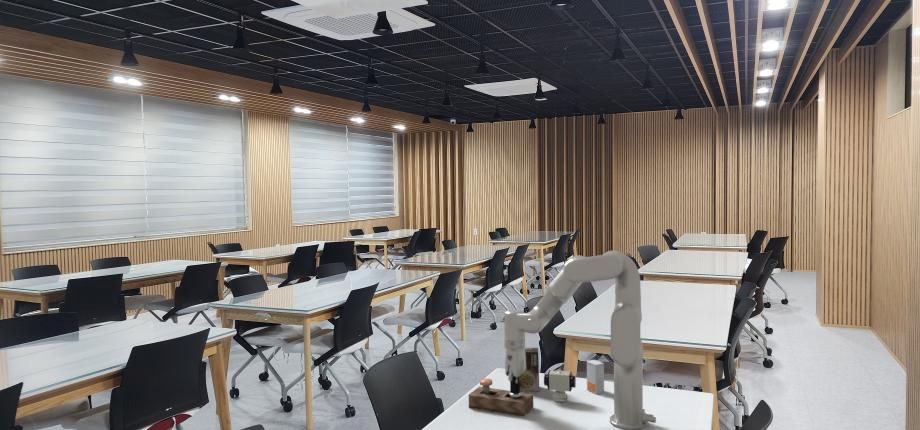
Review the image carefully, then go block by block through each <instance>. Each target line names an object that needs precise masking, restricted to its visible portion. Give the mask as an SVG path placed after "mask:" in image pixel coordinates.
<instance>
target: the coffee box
mask: <svg viewBox="0 0 920 430" xmlns="http://www.w3.org/2000/svg"><path fill="white" fill-rule="evenodd" d="M525 356H526V371H525V372H524V373H523V374H521V375H520V391H521V392H524V391H525V392H531V391H532V392H536V391H537V392H538V391H539V392H540V368H539V367H540V365H539V364H540V362H539V348H538V347H525Z"/></svg>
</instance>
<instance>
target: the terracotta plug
mask: <svg viewBox="0 0 920 430" xmlns="http://www.w3.org/2000/svg"><path fill="white" fill-rule="evenodd" d="M479 385H480V386H482V387H483V394H487V395H490V388H491V387H490V386H492V385H493V380H492V378H481V379H480V380H479Z"/></svg>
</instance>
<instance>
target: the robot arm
mask: <svg viewBox="0 0 920 430" xmlns="http://www.w3.org/2000/svg"><path fill="white" fill-rule="evenodd" d="M613 279H614V293H615V294H614V295H615V297H614V298H615V299H614V309H613V311H612V314H611V317H610V355H611V359H612V360H613V393H614V394H613V405H614V406H613V413H614V414H612V415H611V416H609V422H610V424H611V425H613V426H614V427H617V428H619V429H622V430H640V429H644V428H646V427H647V426H648V422H649V423H653V424H655V423H657V417H656V416H654V414H650V413H649V414H648V413H647V412H646V410H645V408H643V407H644V406H643V405H644V403H643V400H644V399H643V398H644V397H643V391H644V389H643V386H644V385H643V382H644V381H643V380H644V379H643V377H644V376H643V374H644V373H643V371H644V367H643V366H644V365H643V364H644V344H643V342H642V338H641V322H642V320H643V319H642V317H643V314H642V295H641V294H642V293H641V291H642V289H641V278H640V272H639V269H638V267H637V265H636V264H635V262H634V261H633V259H632V258H630V256H629V255H627V254H625V253H624V252H622V251H620V250H619V251H618V250H609V251H607V252H604V253H603V254H599V255H593V256H583V255H580V254H579V255H574V256H572V257H570V258H569V259H568V260H566V261H565V263H564V265H563V267H562V269H561V270H560V271H559V273H557V275H556V276H555V277H554V279H553V280H552V281H551V282H550V283H549V285H548V286H547V289H546V292H545V294H544V295H543V296H542V298H541V299H540V300H539V301H538V302H537V304H536V305H535V306H534V307H533V308H532V309H531V310H530V311H529V312H524V311H523V310H521V309H517V308H514V309H512V308H511V309H508V310H506V311H505V312H504V315H503V316H504V317H503V318H504V319H503V320H504V327H503V329H504V349H505V362H504V369H505V370H504V371H505V373H504V374H505V375H506V377H507V376H508V378H507V380H508V381H509V384H510V385H509V386H510V387H509V388H510V390H509V391H510V392H511V393H516V394H518V393H519V392H520V375H521V374H523V373H524V372H525V371H526V356H525V348H526V333H527V334H538V333H540V332H541V331H542V330H543V329H544V328H545V327H546V326H547V325H548V324H549V322H550V321H551V320H552V318H553V317H555V315H556V314H557V313H558V311H559V310H560V309H561V308H562V307H563V306H564V304H566V303H567V302H568V301H569V300H570V298H571V297H572V296H573V295H574V293H576V291H577V290H578V289H579V287H580V286H581V285H582V284H583V283H589V282H590V283H592V282H602V281H608V280H613Z"/></svg>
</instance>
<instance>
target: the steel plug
mask: <svg viewBox="0 0 920 430" xmlns="http://www.w3.org/2000/svg"><path fill="white" fill-rule="evenodd" d="M522 393H523V391H520V392H519V393H518V394H516V393H511V392H509V396H510V397H511V398H515V399H519V398H521V397H522Z"/></svg>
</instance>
